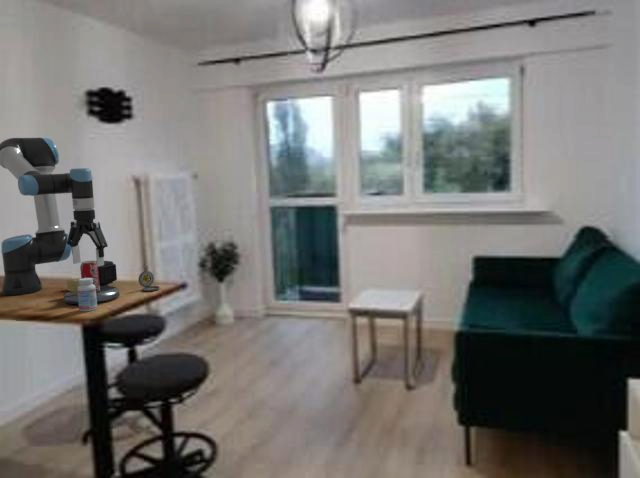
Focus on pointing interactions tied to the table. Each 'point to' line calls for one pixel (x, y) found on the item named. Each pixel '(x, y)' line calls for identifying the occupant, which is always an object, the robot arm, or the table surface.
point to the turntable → (101, 295)
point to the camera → (107, 273)
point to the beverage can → (90, 272)
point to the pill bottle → (87, 295)
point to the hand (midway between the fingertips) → (88, 264)
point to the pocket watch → (144, 276)
